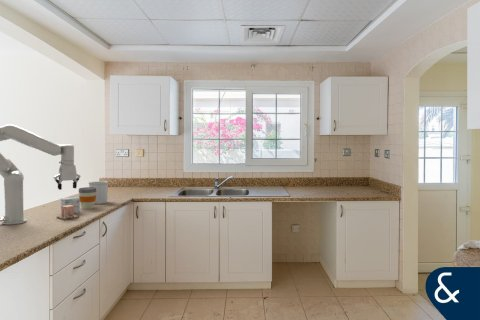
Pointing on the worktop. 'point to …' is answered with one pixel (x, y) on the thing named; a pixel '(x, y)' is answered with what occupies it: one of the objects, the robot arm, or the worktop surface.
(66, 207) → the pink notched block
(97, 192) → the utensil holder
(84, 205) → the reusable coffee cup
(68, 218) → the walnut board
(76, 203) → the light bulb box
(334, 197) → the worktop surface
